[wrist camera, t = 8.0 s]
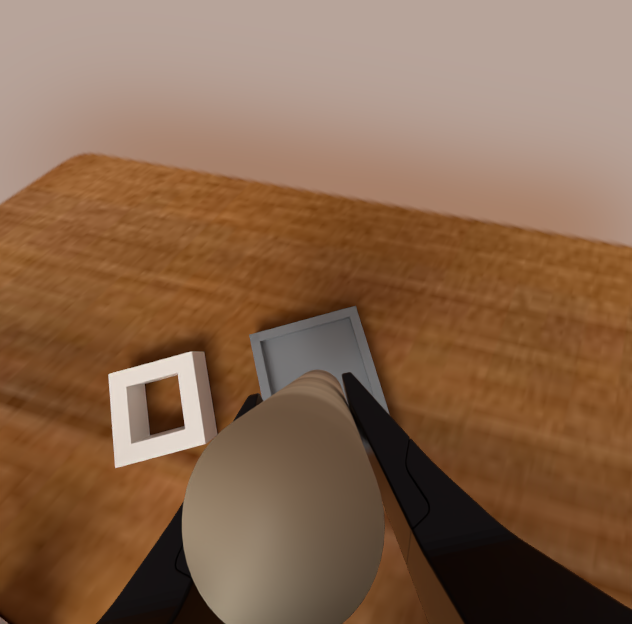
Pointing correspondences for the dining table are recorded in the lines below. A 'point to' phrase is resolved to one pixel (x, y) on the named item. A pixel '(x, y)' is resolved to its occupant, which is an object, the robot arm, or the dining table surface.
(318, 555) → the dowel
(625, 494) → the dining table surface
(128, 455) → the socket
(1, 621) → the milk carton
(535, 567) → the robot arm
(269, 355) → the tray
